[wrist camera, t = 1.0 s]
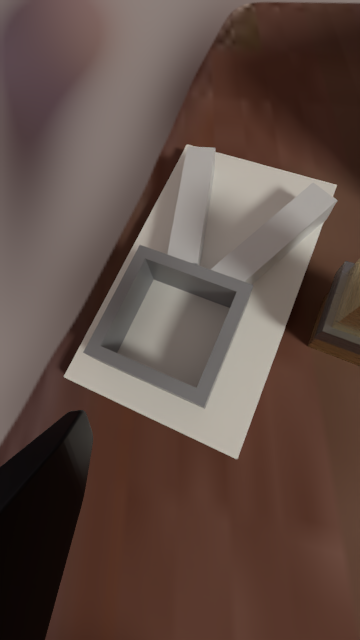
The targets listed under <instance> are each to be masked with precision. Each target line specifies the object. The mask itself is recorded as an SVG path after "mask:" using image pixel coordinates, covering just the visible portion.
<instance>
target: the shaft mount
mask: <svg viewBox="0 0 360 640" xmlns="http://www.w3.org/2000/svg"><path fill="white" fill-rule="evenodd" d="M336 187H337V185H335V184H331V183H328V182H324V181H320V180H317V179H313V178H309V177H306V176H302V175H298V174H295V173H291V172H287V171H284V170H280V169H276V168H273V167H269V166H265V165H262V164H258V163H254V162H251V161H247V160H243V159H239V158H236V157H232V156H228V155H225V154H221V153H217V152H215V148H208V147H195V146H192V145H188V144H187V145H186V147H185V149H184V151H183V153H182V155H181V157H180V158H179V160H178V162H177V164H176V166H175V168H174V170H173V172H172V173H171V175H170V177H169V179H168V181H167V183H166V185H165V187H164V189H163V190H162V192H161V194H160V196H159V198H158V200H157V202H156V204H155V205H154V207H153V209H152V211H151V213H150V215H149V217H148V219H147V221H146V222H145V224H144V226H143V228H142V230H141V232H140V234H139V236H138V237H137V239H136V241H135V243H134V245H133V247H132V249H131V251H130V253H129V254H128V256H127V258H126V260H125V262H124V264H123V266H122V268H121V269H120V271H119V273H118V275H117V277H116V279H115V281H114V283H113V285H112V286H111V288H110V290H109V292H108V294H107V296H106V298H105V300H104V301H103V303H102V305H101V307H100V309H99V311H98V313H97V315H96V317H95V318H94V320H93V322H92V324H91V326H90V328H89V330H88V332H87V334H86V335H85V337H84V339H83V341H82V343H81V345H80V347H79V349H78V350H77V352H76V354H75V356H74V358H73V360H72V362H71V364H70V366H69V367H68V369H67V371H66V373H65V375H64V377H65V378H67V379H69V380H71V381H73V382H75V383H77V384H79V385H81V386H84V387H86V388H88V389H90V390H92V391H94V392H96V393H98V394H100V395H103V396H105V397H107V398H109V399H111V400H113V401H115V402H117V403H119V404H121V405H124V406H126V407H128V408H130V409H132V410H134V411H136V412H138V413H140V414H142V415H145V416H147V417H149V418H151V419H153V420H155V421H157V422H159V423H161V424H164V425H166V426H168V427H170V428H172V429H174V430H176V431H178V432H180V433H182V434H185V435H187V436H189V437H191V438H193V439H195V440H197V441H199V442H201V443H203V444H206V445H208V446H210V447H212V448H214V449H216V450H218V451H220V452H222V453H225V454H227V455H229V456H231V457H233V458H235V459H238V456H239V453H240V450H241V448H242V445H243V442H244V439H245V437H246V434H247V431H248V428H249V426H250V423H251V420H252V417H253V415H254V412H255V409H256V406H257V404H258V401H259V398H260V395H261V393H262V390H263V387H264V384H265V382H266V379H267V376H268V373H269V371H270V368H271V365H272V363H273V360H274V357H275V354H276V352H277V349H278V346H279V343H280V341H281V338H282V335H283V332H284V330H285V327H286V324H287V321H288V319H289V316H290V313H291V310H292V308H293V305H294V302H295V299H296V297H297V294H298V291H299V288H300V286H301V283H302V280H303V277H304V275H305V272H306V269H307V266H308V264H309V261H310V258H311V255H312V253H313V250H314V247H315V244H316V242H317V239H318V236H319V233H320V231H321V228H322V225H323V222H324V221H325V220H326V219H327V218H328V216H329V214H330V212H331V211H332V209H333V207H334V205H335V204H336V202H337V200H336V199H335V198H334V197H333V195H334V192H335V189H336Z"/></svg>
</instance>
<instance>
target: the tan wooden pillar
mask: <svg viewBox="0 0 360 640" xmlns="http://www.w3.org/2000/svg"><path fill="white" fill-rule="evenodd" d="M308 346H309V347H311V348H314V349H316V350H319V351H322V352H324V353H327V354H330V355H332V356H335V357H337V358H340V359H343V360H345V361H348V362H351V363H353V364H356V365H358V366H360V259H359V260H358V261H357V262H356V263H355V264H354V263H351V262H348V261H345V263H344V264H343V265H342V266H341V267H340V268H339V270H338V271H337V272H336V274H335V277H334V280H333V283H332V286H331V289H330V292H329V293H328V294H327V295H326V296H325V297H324V298H323V301H322V304H321V307H320V310H319V313H318V316H317V319H316V322H315V325H314V328H313V331H312V334H311V337H310V340H309V343H308Z"/></svg>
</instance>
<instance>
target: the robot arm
mask: <svg viewBox="0 0 360 640" xmlns="http://www.w3.org/2000/svg"><path fill="white" fill-rule="evenodd" d="M92 444H93V434H92V430H91V427H90V424H89V421H88V418H87V415H86V413H85V411H83V410H78V411H70V412H68V413H67V414H65V415H64V416H63V417H62V418H61V419H59V420H58V421H57V422H56V423H54V424H53V425H52V426H51V427H49V428H48V429H47V430H46V431H44V432H43V433H42V434H41V435H39V436H38V437H37V438H36V439H34V440H33V441H32V442H31V443H30V444H28V445H27V446H26V447H25V448H23V449H22V450H21V451H20V452H18V453H17V454H16V455H15V456H13V457H12V458H11V459H10V460H8V461H7V462H6V463H5V464H3V465H2V466H1V467H0V640H45V637H46V634H47V630H48V626H49V623H50V619H51V615H52V612H53V608H54V604H55V601H56V597H57V593H58V590H59V586H60V582H61V579H62V575H63V571H64V568H65V564H66V560H67V557H68V553H69V549H70V546H71V542H72V538H73V535H74V531H75V527H76V524H77V520H78V516H79V513H80V509H81V505H82V501H83V497H84V493H85V487H86V481H87V475H88V469H89V463H90V456H91V450H92Z"/></svg>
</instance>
